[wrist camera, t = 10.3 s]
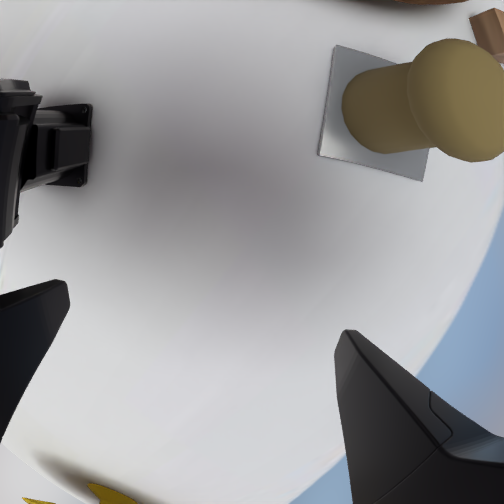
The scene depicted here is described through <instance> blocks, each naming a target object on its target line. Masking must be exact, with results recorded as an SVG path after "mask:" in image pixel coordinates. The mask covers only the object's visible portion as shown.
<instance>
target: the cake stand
mask: <svg viewBox="0 0 504 504" xmlns="http://www.w3.org/2000/svg"><path fill="white" fill-rule="evenodd" d="M87 486H88V488H89V489H90V490H91V491H92V492H93V493H94V494H95V495H96V496H97V497H98V498H99V499H100V503H99V504H138V503H137V502H135V501H134V500H132V499H131V498H129V497H127V496H125V495H123V494H121V493H119V492H116V491H114V490H112V489H109V488H106V487H104V486H101V485H97V484H93V483H89V484H88V485H87ZM22 499H24V500H25V502H27V503H28V504H30V503H31V504H55V503H51V502H44V501H39V500H33V499H28V498H22Z"/></svg>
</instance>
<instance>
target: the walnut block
mask: <svg viewBox="0 0 504 504" xmlns="http://www.w3.org/2000/svg"><path fill="white" fill-rule="evenodd" d="M469 20H470V23H471V26H472V29H473V32H474V35H475V38H476V42H477V45H478V46H479V47H481V48H482V49H484V50H486V51H487V52H489V53H490V54H491V55H492V56H493V57H494V58H495V59H496V60H497V61H498V62H499V63H503V64H504V12H503V11H501V10H498V9H496V8H492V9H490V10H487V11H485V12H482V13H480V14H478V15H475V16H473V17H471V18H469Z"/></svg>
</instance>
